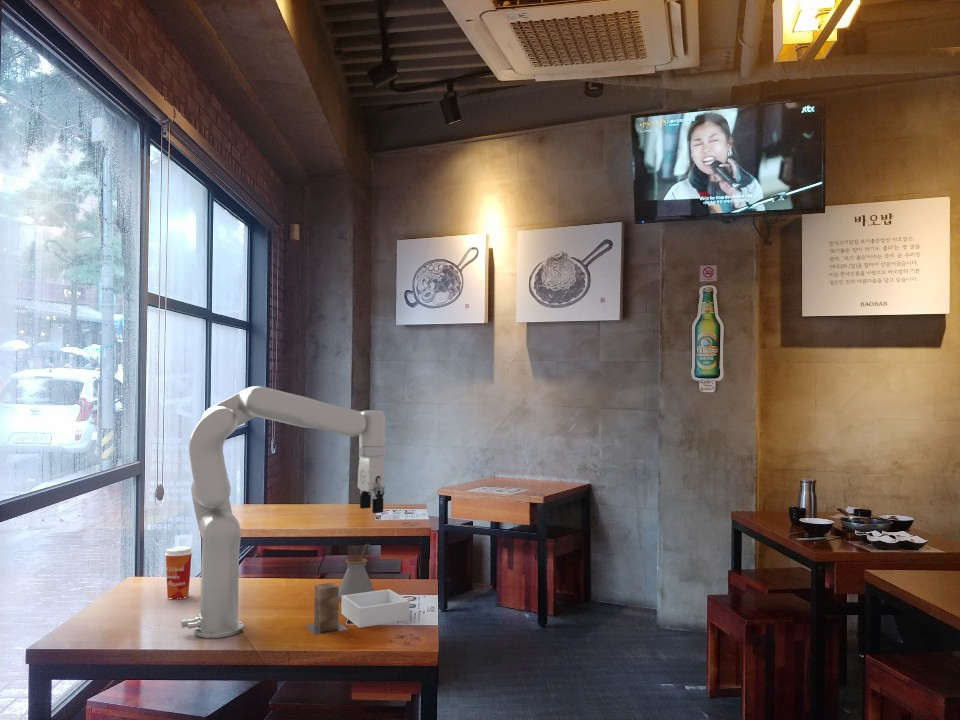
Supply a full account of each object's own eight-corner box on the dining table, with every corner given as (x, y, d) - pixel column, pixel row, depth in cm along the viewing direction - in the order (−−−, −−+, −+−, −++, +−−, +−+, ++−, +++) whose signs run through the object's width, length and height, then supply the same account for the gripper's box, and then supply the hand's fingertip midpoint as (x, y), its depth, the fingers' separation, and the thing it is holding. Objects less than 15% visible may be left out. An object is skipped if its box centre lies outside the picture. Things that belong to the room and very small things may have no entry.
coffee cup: (157, 599, 229) (158, 550, 230) (175, 592, 237) (176, 545, 238) (180, 601, 227) (181, 552, 228) (198, 594, 235) (199, 546, 235)
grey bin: (359, 631, 199) (359, 608, 199) (341, 616, 212) (341, 595, 212) (409, 623, 206) (409, 601, 206) (389, 609, 219) (389, 589, 219)
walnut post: (320, 631, 195) (320, 589, 196) (314, 626, 200) (314, 584, 200) (338, 628, 198) (338, 586, 198) (332, 623, 202) (332, 582, 203)
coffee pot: (370, 608, 220) (370, 557, 220) (332, 608, 221) (332, 556, 221) (385, 590, 241) (385, 543, 242) (350, 589, 242) (350, 542, 243)
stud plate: (314, 638, 193) (315, 617, 193) (304, 629, 201) (305, 608, 201) (348, 633, 197) (348, 612, 197) (337, 624, 205) (337, 604, 205)
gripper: (349, 450, 225) (349, 507, 225) (371, 454, 210) (370, 515, 210) (372, 449, 229) (372, 505, 228) (395, 453, 214) (395, 513, 213)
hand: (371, 510), depth 219 cm, fingers open, 9 cm apart
